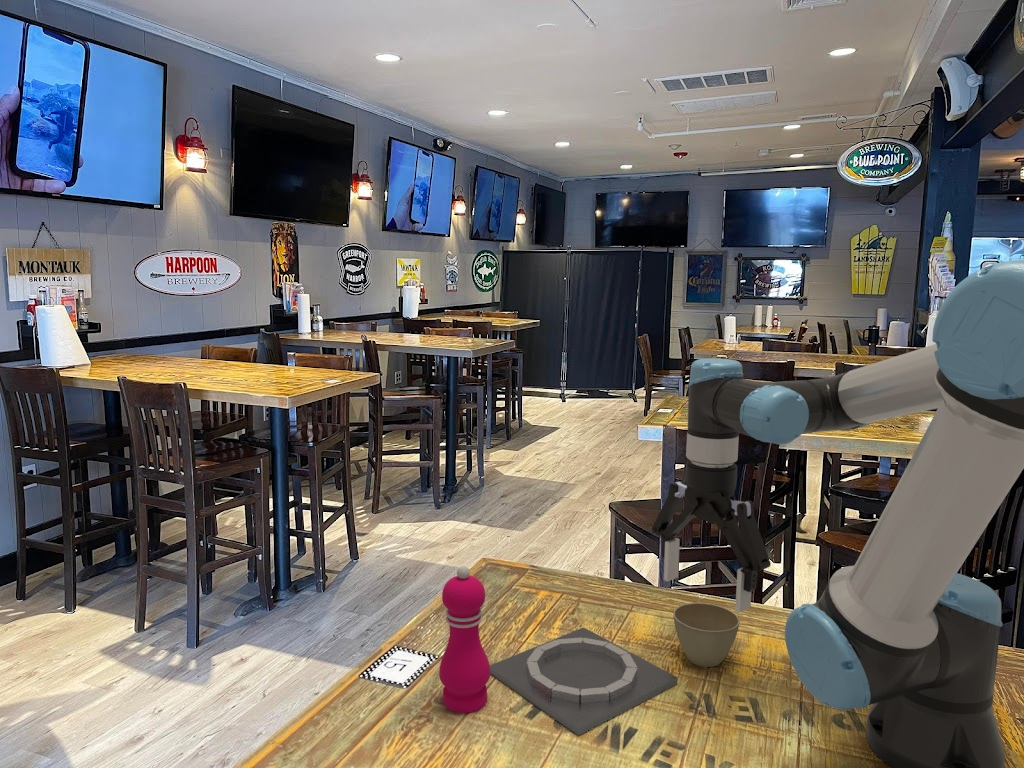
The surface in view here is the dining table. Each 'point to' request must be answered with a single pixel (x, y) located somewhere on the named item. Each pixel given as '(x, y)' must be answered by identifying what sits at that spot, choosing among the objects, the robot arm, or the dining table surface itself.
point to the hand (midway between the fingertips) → (705, 593)
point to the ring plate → (582, 679)
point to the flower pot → (705, 632)
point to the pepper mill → (464, 645)
